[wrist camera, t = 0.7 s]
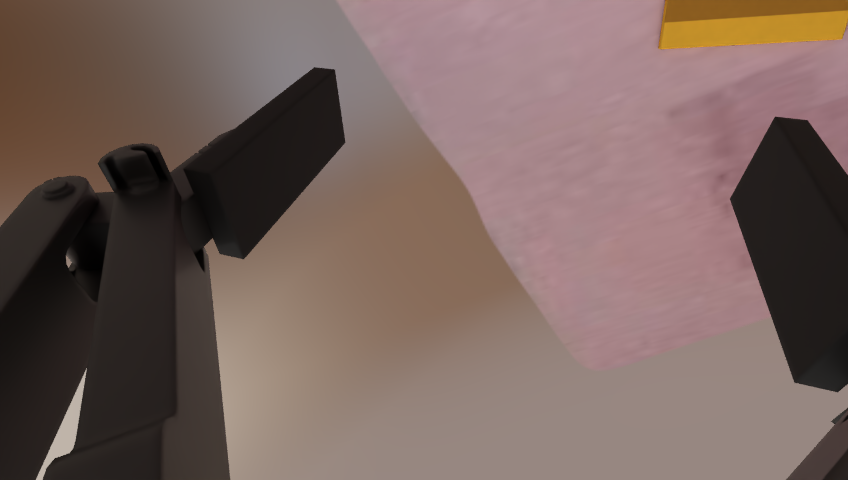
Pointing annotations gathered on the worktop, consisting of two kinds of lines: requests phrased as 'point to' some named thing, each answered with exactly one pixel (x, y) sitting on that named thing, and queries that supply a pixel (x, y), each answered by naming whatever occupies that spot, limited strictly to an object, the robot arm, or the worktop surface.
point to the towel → (750, 22)
